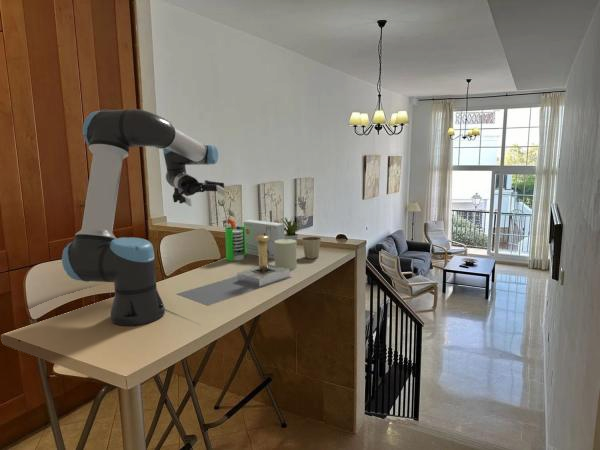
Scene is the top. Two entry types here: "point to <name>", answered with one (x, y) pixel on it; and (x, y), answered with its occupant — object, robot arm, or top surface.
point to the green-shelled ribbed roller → (235, 241)
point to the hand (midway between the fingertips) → (207, 197)
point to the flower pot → (311, 246)
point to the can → (285, 253)
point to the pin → (262, 252)
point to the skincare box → (262, 228)
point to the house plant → (291, 229)
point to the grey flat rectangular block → (263, 275)
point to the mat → (220, 291)
